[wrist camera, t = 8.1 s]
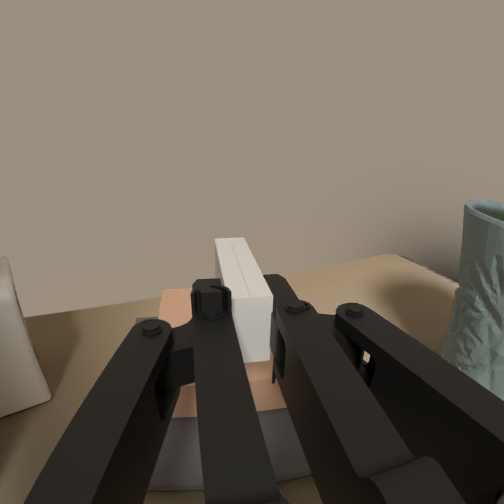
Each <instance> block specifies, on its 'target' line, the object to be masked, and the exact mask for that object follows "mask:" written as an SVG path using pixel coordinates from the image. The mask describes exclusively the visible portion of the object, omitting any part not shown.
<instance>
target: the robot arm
mask: <svg viewBox="0 0 504 504" xmlns="http://www.w3.org/2000/svg"><path fill="white" fill-rule="evenodd" d="M214 241H215V274H216V275H215V276H216V278H215V279H197V280H196V281H195V282H194V284H193V285H192V291H191V294H190V295H191V308H192V318H191V320H190V321H189V322H187V323H186V324H184V325H181V326H178V327H174V328H172V327H171V325H170V323H168V322H166V321H165V320H161V319H148V320H147V319H146V320H143V321H141V322H139V323H137V324H136V325H135V326H133V327H132V329H131V330H130V332H129V333H128V335H127V336H126V338H125V339H124V341H123V342H122V343H121V345H120V346H119V348H118V349H117V351H116V352H115V354H114V355H113V357H112V358H111V360H110V361H109V363H108V364H107V366H106V367H105V369H104V370H103V372H102V374H101V375H100V377H99V378H98V380H97V381H96V383H95V384H94V386H93V387H92V389H91V390H90V392H89V394H88V395H87V397H86V398H85V400H84V401H83V403H82V405H81V406H80V408H79V409H78V411H77V413H76V414H75V416H74V417H73V419H72V421H71V422H70V424H69V426H68V427H67V429H66V430H65V432H64V434H63V435H62V437H61V439H60V440H59V442H58V444H57V445H56V447H55V449H54V451H53V452H52V454H51V456H50V457H49V459H48V461H47V463H46V464H45V466H44V468H43V469H42V471H41V473H40V475H39V477H38V478H37V480H36V482H35V484H34V485H33V487H32V489H31V491H30V493H29V495H28V496H27V498H26V500H25V502H24V504H143V502H144V499H145V496H146V493H147V489H148V486H149V483H150V480H151V477H152V474H153V471H154V468H155V465H156V462H157V459H158V456H159V453H160V450H161V447H162V444H163V441H164V438H165V435H166V433H167V430H168V427H169V424H170V421H171V418H172V415H173V412H174V409H175V406H176V403H177V400H178V398H179V395H180V390H181V386H184V385H188V384H191V383H195V391H196V407H197V420H198V433H199V445H200V455H201V466H202V475H203V485H204V493H205V502H206V504H289V503H288V501H287V499H285V498H283V497H282V496H281V494H280V491H279V488H278V485H277V481H276V478H275V475H274V471H273V468H272V464H271V461H270V457H269V454H268V450H267V447H266V443H265V440H264V436H263V432H262V429H261V425H260V421H259V418H258V414H257V410H256V407H255V403H254V399H253V395H252V392H251V388H250V384H249V380H248V376H247V373H246V369H245V365H244V363H249V362H259V361H268V360H270V349H271V351H272V354H273V370H272V384H275V379H276V378H277V381H278V384H279V387H280V389H281V392H282V395H283V398H284V400H285V403H286V406H287V409H288V411H289V414H290V417H291V420H292V422H293V425H294V428H295V430H296V433H297V436H298V439H299V441H300V444H301V447H302V449H303V452H304V455H305V457H306V460H307V463H308V465H309V468H310V471H311V473H312V476H313V478H314V481H315V484H316V486H317V489H318V492H319V494H320V497H321V499H322V502H323V504H504V401H503V400H502V399H500V398H499V397H497V396H496V395H495V394H493V393H492V392H490V391H489V390H488V389H486V388H485V387H483V386H482V385H480V384H479V383H478V382H476V381H475V380H473V379H472V378H470V377H469V376H468V375H466V374H465V373H463V372H462V371H460V370H459V369H458V368H456V367H455V366H453V365H452V364H450V363H449V362H447V361H446V360H445V359H443V358H442V357H440V356H439V355H437V354H436V353H434V352H433V351H431V350H430V349H429V348H427V347H426V346H424V345H423V344H421V343H420V342H418V341H417V340H415V339H414V338H412V337H411V336H409V335H408V334H407V333H405V332H404V331H402V330H401V329H399V328H398V327H396V326H395V325H393V324H392V323H390V322H389V321H387V320H386V319H384V318H383V317H381V316H380V315H378V314H377V313H375V312H374V311H372V310H371V309H369V308H368V307H366V306H364V305H361V304H358V303H346V304H342V305H340V306H338V308H337V309H336V315H327V314H318V313H317V311H316V310H315V309H314V307H313V306H312V305H311V304H310V303H308V302H305V301H302V300H299V299H298V298H297V296H296V294H295V293H294V291H293V290H292V288H291V287H290V285H289V284H288V282H287V281H286V279H285V278H283V277H282V276H280V275H278V274H270V275H262V273H261V271H260V269H259V267H258V265H257V263H256V261H255V259H254V257H253V255H252V253H251V251H250V249H249V247H248V245H247V243H246V241H245V239H244V238H219V239H215V240H214ZM365 351H366V352H367V353H368V354H370V355H371V356H370V360H369V362H368V363H367V362H366V361H364V360H363V356H364V352H365Z"/></svg>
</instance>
